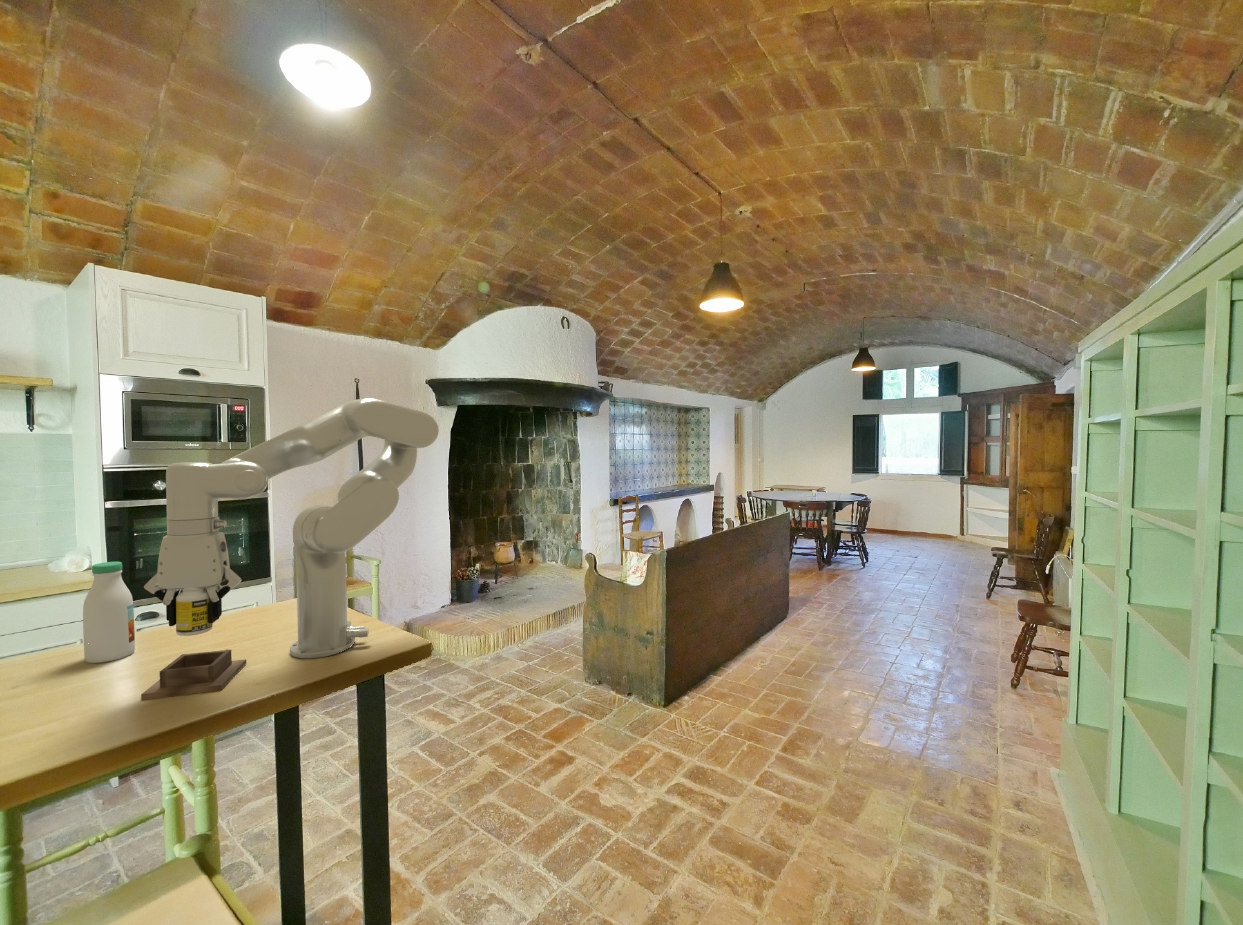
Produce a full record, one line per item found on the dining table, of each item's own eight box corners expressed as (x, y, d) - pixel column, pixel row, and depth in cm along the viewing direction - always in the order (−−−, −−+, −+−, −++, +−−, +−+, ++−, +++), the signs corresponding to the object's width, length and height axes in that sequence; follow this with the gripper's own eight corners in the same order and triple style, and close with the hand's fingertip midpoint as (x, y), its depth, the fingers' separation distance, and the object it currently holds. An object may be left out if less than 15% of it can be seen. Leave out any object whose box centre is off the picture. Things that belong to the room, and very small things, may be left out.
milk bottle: (121, 661, 109) (118, 566, 108) (74, 666, 107) (71, 568, 106) (143, 648, 116) (140, 558, 116) (100, 651, 114) (96, 560, 113)
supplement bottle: (192, 637, 97) (191, 585, 96) (168, 635, 98) (167, 583, 97) (220, 628, 102) (219, 577, 102) (197, 626, 103) (196, 576, 103)
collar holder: (246, 664, 108) (245, 645, 108) (221, 690, 96) (221, 669, 96) (175, 671, 104) (175, 651, 104) (141, 699, 93) (140, 677, 93)
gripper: (253, 523, 105) (254, 612, 106) (148, 526, 100) (150, 620, 101) (238, 528, 98) (239, 624, 99) (125, 532, 93) (127, 633, 94)
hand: (194, 621), depth 100 cm, fingers closed on supplement bottle, 5 cm apart
